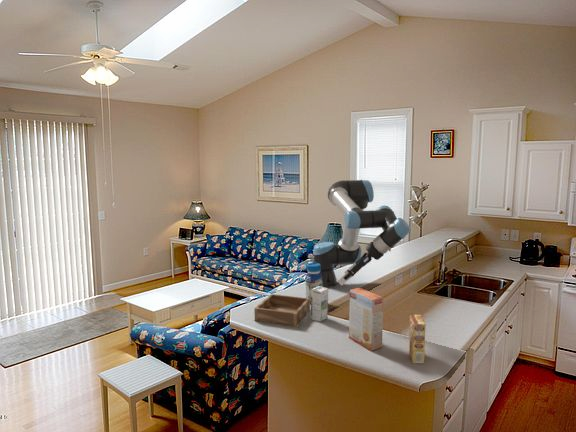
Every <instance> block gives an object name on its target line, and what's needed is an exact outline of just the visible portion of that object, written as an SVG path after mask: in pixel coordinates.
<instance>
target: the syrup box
mask: <svg viewBox="0 0 576 432" xmlns="http://www.w3.org/2000/svg"><path fill="white" fill-rule="evenodd" d="M328 308H329V288H328V287H321V286H318V287H315V288H313V289H311V305H310V320H313V321H315V322H316V321H317V322H321V323H322V322H323V321H325V320H327V319H328V315H329V313H328V312H329V309H328Z"/></svg>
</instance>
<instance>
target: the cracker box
mask: <svg viewBox="0 0 576 432" xmlns="http://www.w3.org/2000/svg"><path fill="white" fill-rule="evenodd" d="M383 315H384V297H383V296H381V295H379V294H377V293H374V292H372V291H369V290H367V289H365V288H362V287H357V288H352V289H350V290H349V317H348V319H349V321H348V325H349V326H348V338H349V339H351V340H352V341H354V342H355V343H358V344H359V345H361V346H362V347H364V348H366V349H367V350H369V351H371V352H372V351H376V350H378V349H382V348H383V326H384V325H383V321H384V316H383Z"/></svg>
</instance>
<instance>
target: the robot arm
mask: <svg viewBox="0 0 576 432" xmlns="http://www.w3.org/2000/svg"><path fill="white" fill-rule="evenodd" d="M374 195H375V194H374V188H373V184H372V182H371V181H369V180H368V179H359V180H357V179H356V180H354V179H353V180H351V179H349V180H347V179H346V180H339V181H335V182H334V183H332V184H331V186H330V187H329V188H328V190H327V198H328V200H329V202H330V204H331V205H333V206H336V208H337V209H338V210H339V212H341V213H342V215H343V216H344V225H343V232H342V237H341V238H340V239H339V241H338V243H337V244H335V243H334V242H332V241H323V242H319V243H317V244H314V246H313V252H312V255H313V256H312V257H313V262H312V263H319V264H320V265H321V270H320V273H321V275H322V282H323V284H322V287H325V288H330V286H331V287H333V286H336V285H337V283H338V284H339V285H340V286H343V285H344V284H345V283H347V282H348V281H349V280H350V279H352V277H354V276H355V275H356V274H357V273H358V272H359V271H360V270H361V269H362V268H364V267H365V266H366V265H367V264H370V263H371V261H372V260H373V259H374V260H376V261H378V260H380V259H381V258H382V257H384V254H386V253H389V252H391V251H392V248H394V247H395V246H396V245H397V244H398V243H399V242H400V241H402V240H403V239H405V238H406V237H407V235H408V234H409V233H410V232H411V231H412V230H411V226H410V225H409V224H408V222H407V221H406V220H405V219H403V217H398V218H397V216H396V213H395V211H394V210H393V209H392V207H390V206H388V205H381V206H378V207H377V208H376V209H375V210H364V209H367V208H368V205H369V203H372V202H373V201H374ZM361 229H382V232H381V233H379V234H378V235H377V236H376V237H375V238H374V239H372V241H370V243H369V244H367V245H366V247H365V248H366V249H365V250H366V252H364V253H363V254H362V247H361V245H360V243H359V242H358V239H359V234H360V230H361ZM341 265H346V266H347V265H351V266H349V268H348V269H346V270H345V271H344V274H343V275H341V277H340V278H339V279H337V276H336V274H335V270H334V269H335V267H334V266H341Z"/></svg>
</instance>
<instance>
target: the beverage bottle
mask: <svg viewBox="0 0 576 432" xmlns="http://www.w3.org/2000/svg"><path fill="white" fill-rule="evenodd" d="M320 270H321V265H320V264H319V263H313V262H311V263H310V262H309V263H307V265H306V271H307V274H306V275H305V279H306V281H305V292H306V293H305V294H306V297H305V298H309V299H310V306H311V289H313V288H315V287H318V286H321V287H322V284H323V282H322V275H321V273H320Z"/></svg>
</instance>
